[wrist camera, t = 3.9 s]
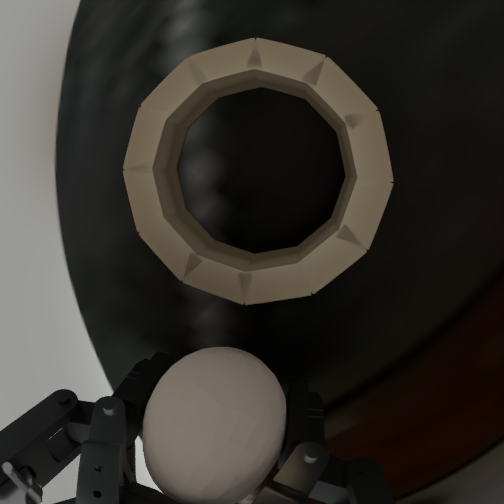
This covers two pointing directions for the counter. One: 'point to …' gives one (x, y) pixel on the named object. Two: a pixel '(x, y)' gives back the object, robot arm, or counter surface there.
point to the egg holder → (186, 226)
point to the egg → (214, 427)
